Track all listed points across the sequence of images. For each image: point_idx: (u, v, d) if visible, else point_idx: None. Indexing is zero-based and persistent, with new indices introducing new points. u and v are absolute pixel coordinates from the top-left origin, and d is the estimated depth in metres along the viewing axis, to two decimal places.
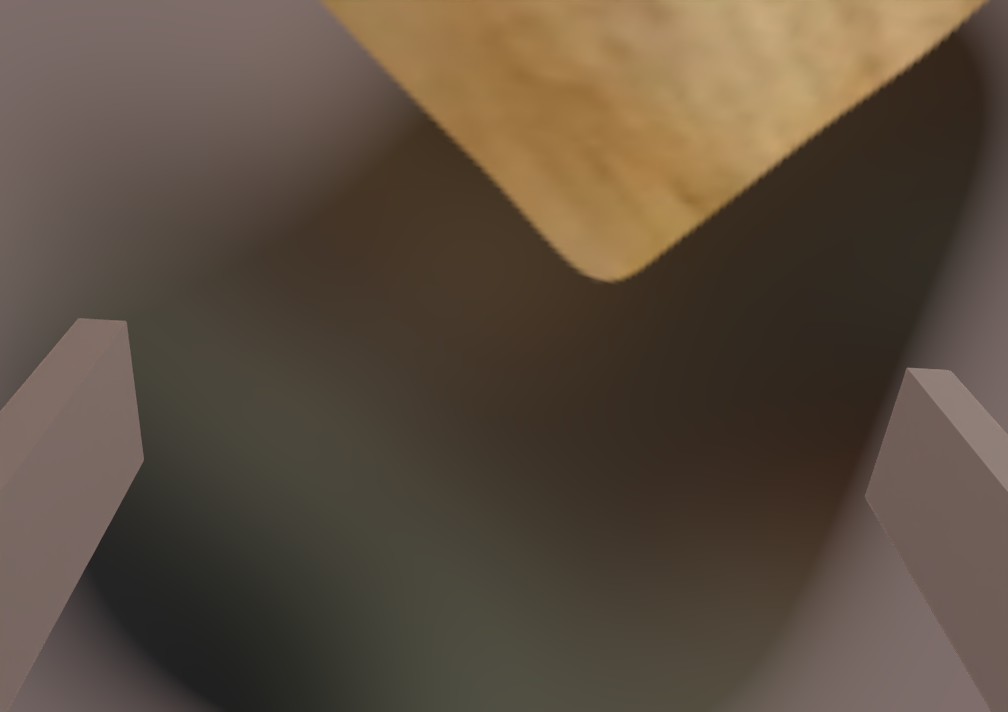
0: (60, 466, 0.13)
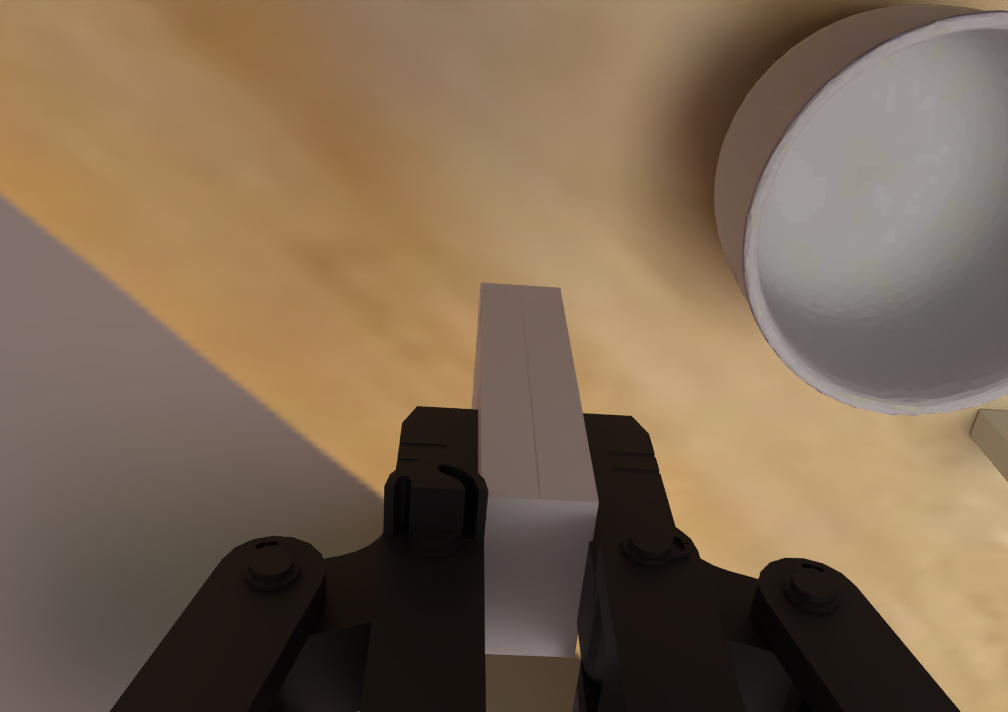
0: None
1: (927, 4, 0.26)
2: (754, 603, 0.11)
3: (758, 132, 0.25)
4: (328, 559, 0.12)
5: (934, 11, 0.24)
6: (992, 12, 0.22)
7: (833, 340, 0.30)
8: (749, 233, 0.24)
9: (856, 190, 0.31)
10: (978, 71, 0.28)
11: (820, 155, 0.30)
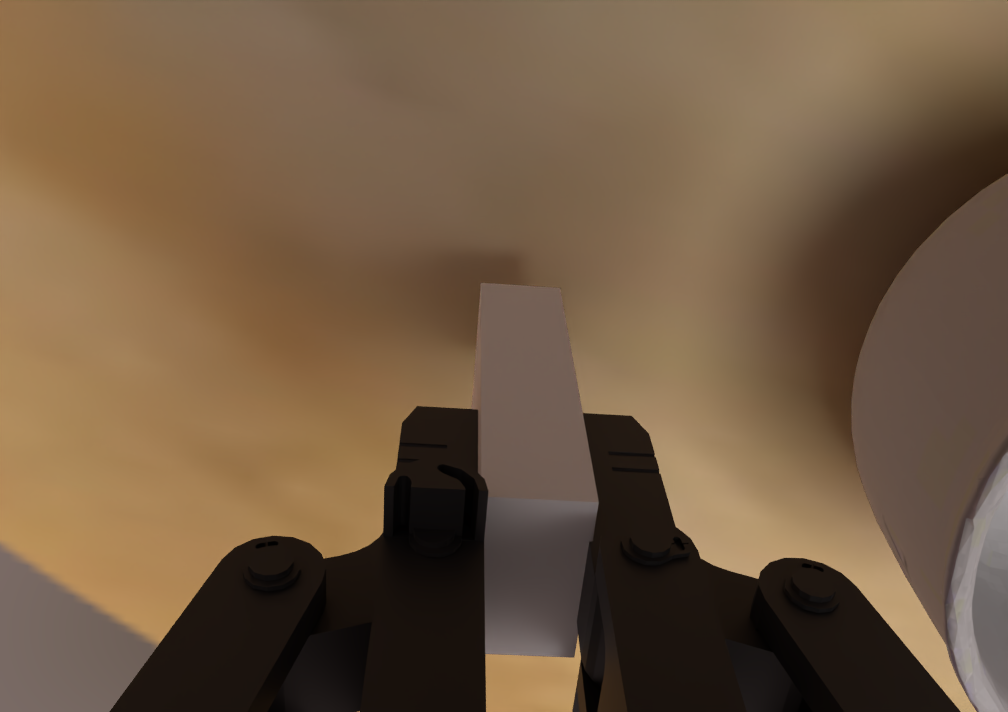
0: None
1: None
2: (754, 603, 0.11)
3: (968, 354, 0.14)
4: (328, 559, 0.12)
5: None
6: None
7: None
8: (966, 554, 0.13)
9: None
10: None
11: None
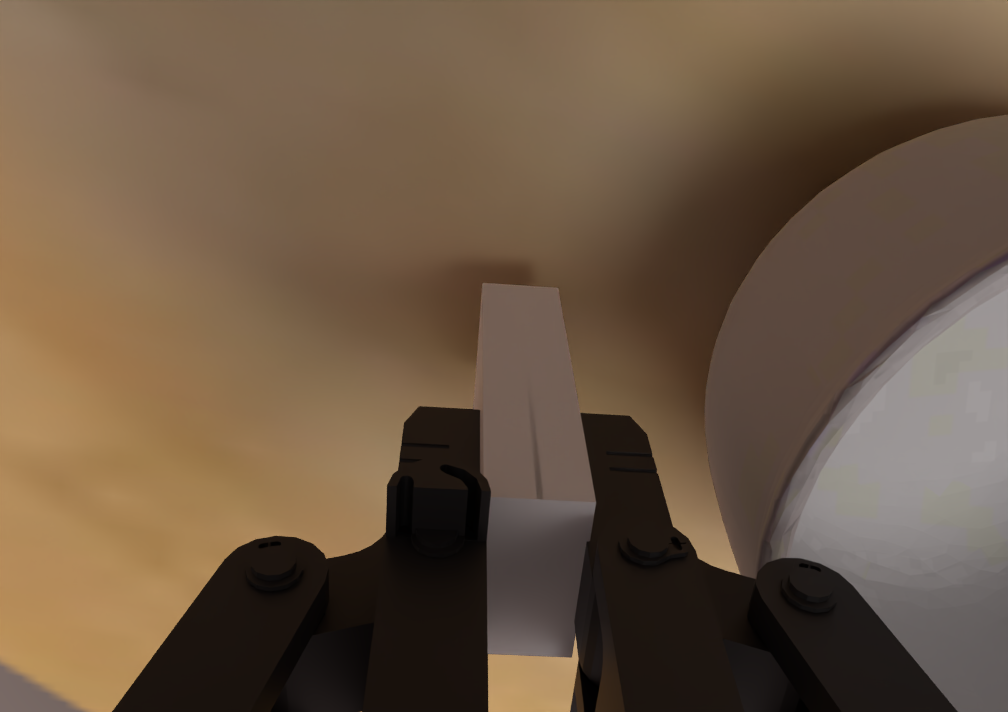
0: None
1: None
2: (751, 603, 0.11)
3: (779, 366, 0.14)
4: (330, 559, 0.12)
5: None
6: None
7: (907, 647, 0.18)
8: None
9: (935, 387, 0.19)
10: None
11: None
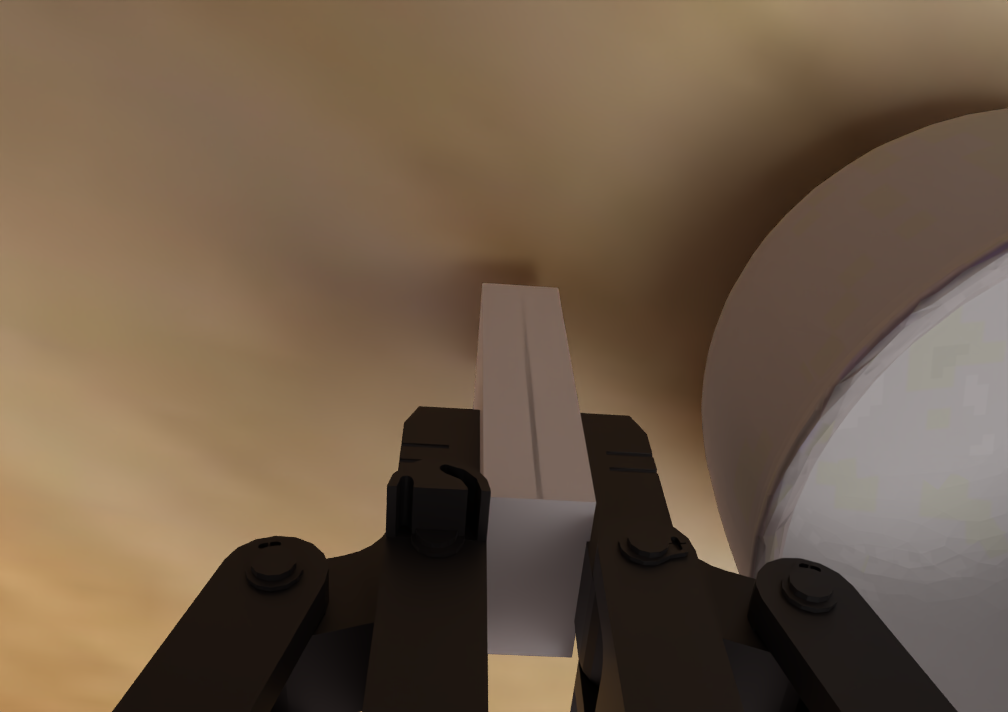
0: None
1: None
2: (751, 603, 0.11)
3: (773, 362, 0.14)
4: (330, 559, 0.12)
5: None
6: None
7: (905, 640, 0.18)
8: None
9: (932, 381, 0.19)
10: None
11: None
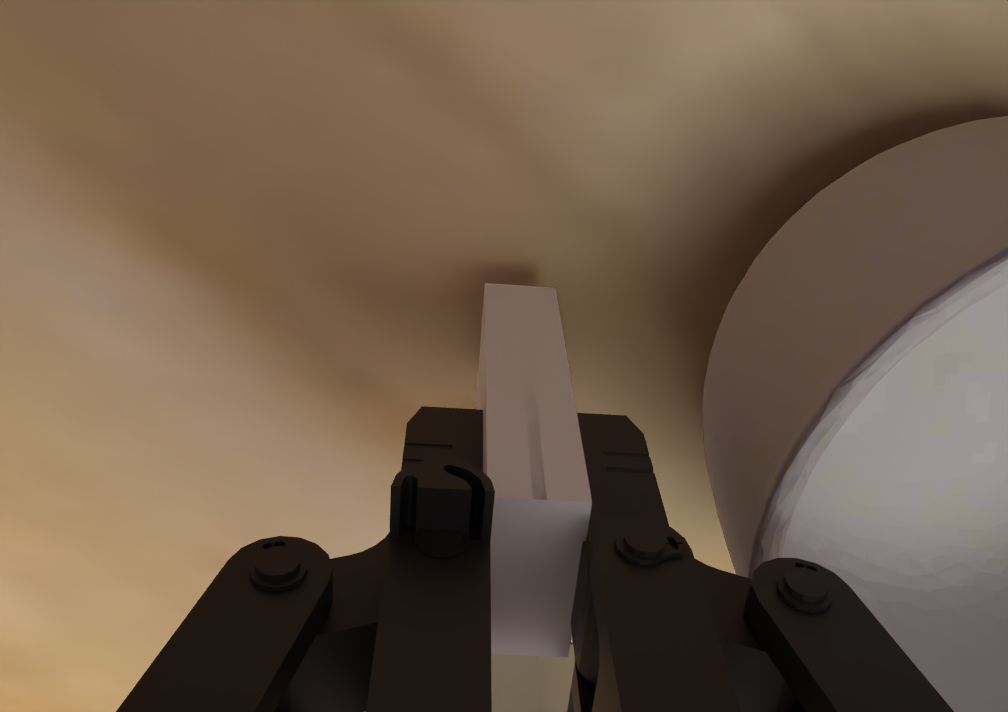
0: None
1: None
2: (747, 603, 0.11)
3: (774, 366, 0.14)
4: (335, 559, 0.12)
5: None
6: None
7: (904, 648, 0.18)
8: None
9: (935, 388, 0.19)
10: None
11: None
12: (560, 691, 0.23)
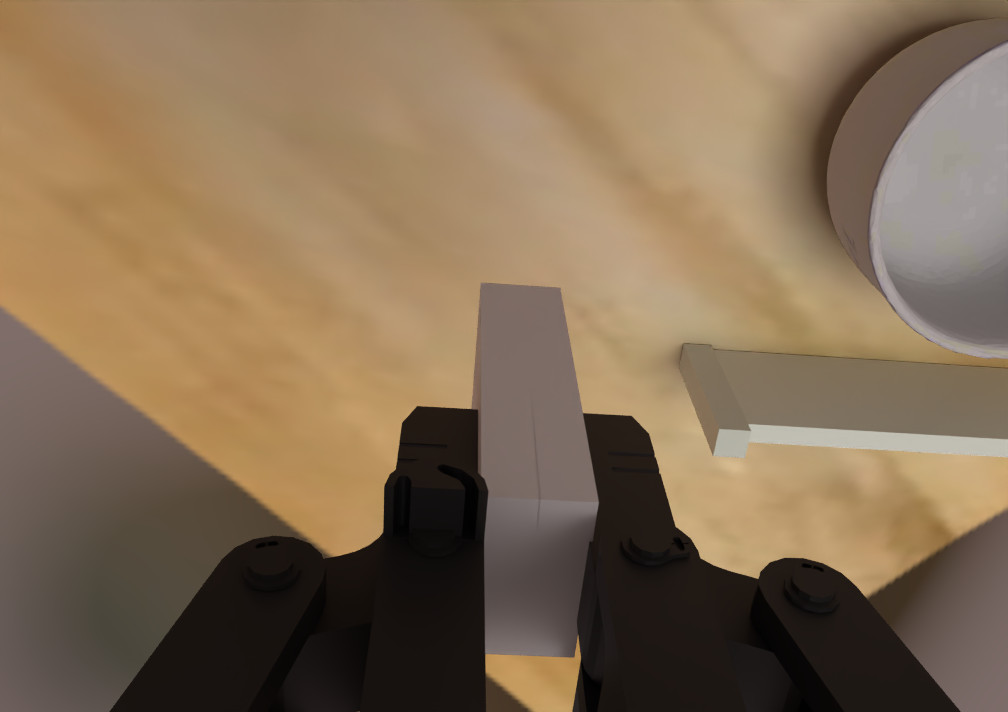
0: None
1: None
2: (754, 603, 0.11)
3: (877, 125, 0.31)
4: (328, 559, 0.12)
5: None
6: None
7: (929, 301, 0.35)
8: (875, 207, 0.30)
9: (943, 175, 0.36)
10: None
11: (913, 145, 0.36)
12: (730, 366, 0.39)
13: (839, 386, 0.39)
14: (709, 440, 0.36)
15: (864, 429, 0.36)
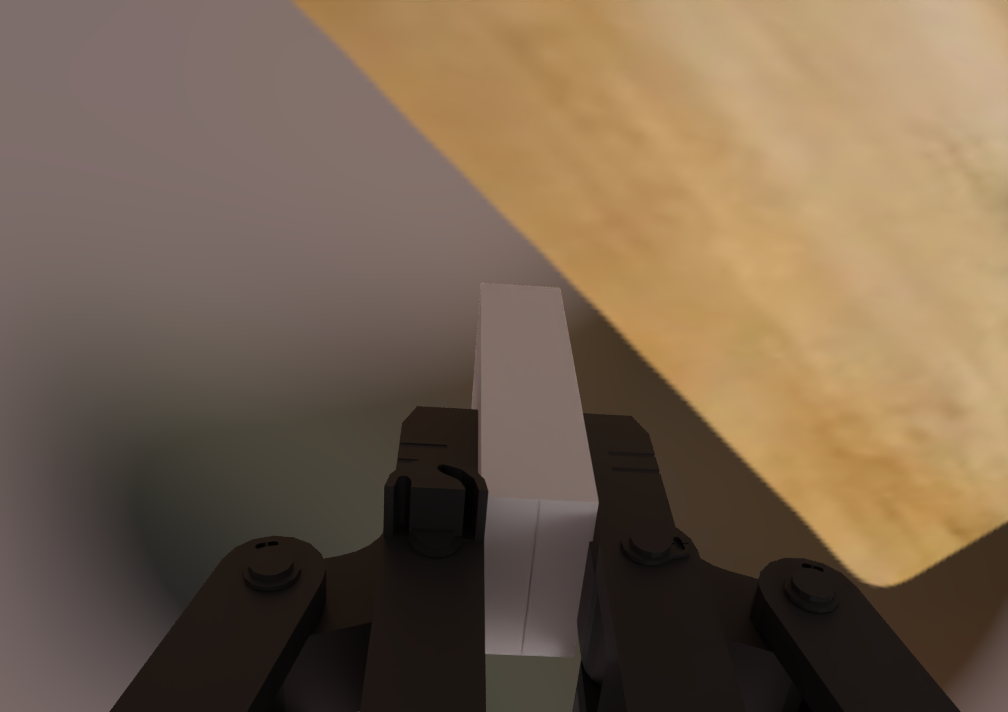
0: None
1: None
2: (754, 603, 0.11)
3: None
4: (328, 558, 0.12)
5: None
6: None
7: None
8: None
9: None
10: None
11: None
12: None
13: None
14: None
15: None
